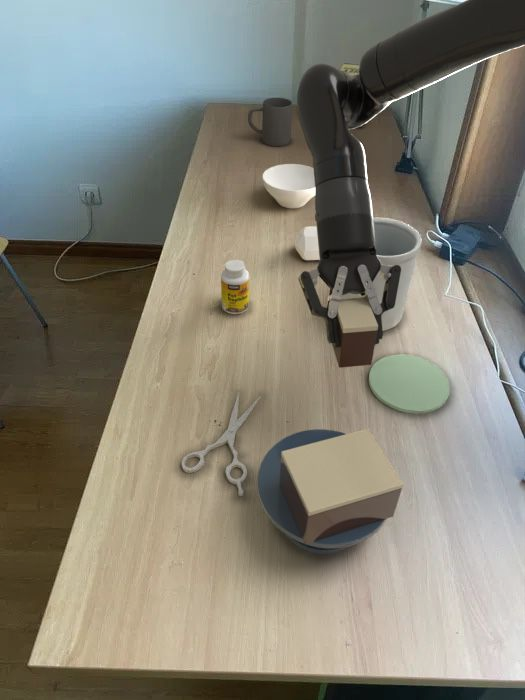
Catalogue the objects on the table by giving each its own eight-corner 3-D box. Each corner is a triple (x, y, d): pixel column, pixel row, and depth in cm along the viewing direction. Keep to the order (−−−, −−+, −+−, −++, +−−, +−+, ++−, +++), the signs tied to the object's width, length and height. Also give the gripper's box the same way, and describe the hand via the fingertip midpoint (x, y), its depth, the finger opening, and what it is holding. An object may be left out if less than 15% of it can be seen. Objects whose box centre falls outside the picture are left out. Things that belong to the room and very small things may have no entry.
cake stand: (350, 450, 88) (363, 383, 78) (408, 552, 76) (432, 487, 66) (240, 480, 84) (239, 413, 74) (283, 594, 71) (288, 531, 61)
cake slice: (360, 336, 80) (366, 297, 76) (371, 365, 76) (378, 325, 71) (329, 338, 80) (333, 299, 75) (338, 367, 76) (343, 328, 71)
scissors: (174, 475, 83) (221, 383, 97) (175, 478, 84) (221, 386, 98) (242, 494, 81) (280, 397, 95) (242, 497, 82) (280, 400, 96)
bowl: (330, 212, 145) (332, 187, 141) (270, 219, 142) (271, 193, 138) (311, 185, 157) (313, 161, 152) (255, 191, 154) (255, 166, 149)
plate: (437, 357, 105) (438, 354, 104) (458, 413, 94) (459, 410, 94) (363, 357, 104) (363, 354, 104) (375, 413, 94) (376, 410, 94)
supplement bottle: (225, 317, 113) (223, 274, 106) (219, 301, 117) (217, 259, 110) (252, 313, 114) (252, 270, 107) (245, 297, 118) (245, 255, 111)
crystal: (298, 252, 124) (404, 249, 125) (295, 224, 126) (399, 220, 128) (294, 267, 131) (395, 264, 133) (291, 240, 133) (390, 237, 135)
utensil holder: (322, 293, 119) (330, 219, 107) (388, 286, 122) (403, 212, 110) (344, 338, 108) (355, 261, 97) (416, 329, 111) (435, 252, 99)
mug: (289, 135, 184) (291, 97, 176) (291, 146, 177) (293, 107, 169) (247, 135, 183) (247, 97, 175) (248, 146, 176) (248, 107, 168)
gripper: (295, 214, 71) (307, 349, 70) (405, 207, 72) (418, 339, 72) (288, 229, 79) (298, 351, 78) (388, 222, 80) (399, 342, 79)
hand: (355, 345), depth 75 cm, fingers closed on cake slice, 4 cm apart
